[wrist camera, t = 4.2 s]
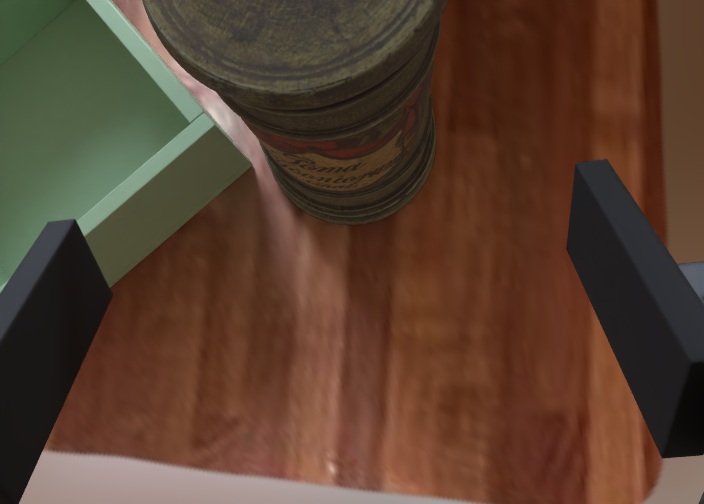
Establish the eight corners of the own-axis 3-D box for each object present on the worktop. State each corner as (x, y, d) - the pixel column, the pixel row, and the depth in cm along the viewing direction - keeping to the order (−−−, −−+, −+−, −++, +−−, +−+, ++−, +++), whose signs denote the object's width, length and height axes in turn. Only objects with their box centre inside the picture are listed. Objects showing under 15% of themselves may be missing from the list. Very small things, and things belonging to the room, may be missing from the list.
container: (267, 70, 34) (115, -210, 16) (430, 59, 33) (460, -248, 15) (270, 231, 33) (111, 120, 15) (439, 223, 32) (482, 95, 14)
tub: (-98, 146, 35) (-216, 104, 29) (96, -19, 36) (23, -99, 29) (48, 341, 33) (-42, 345, 27) (253, 165, 33) (215, 124, 27)
